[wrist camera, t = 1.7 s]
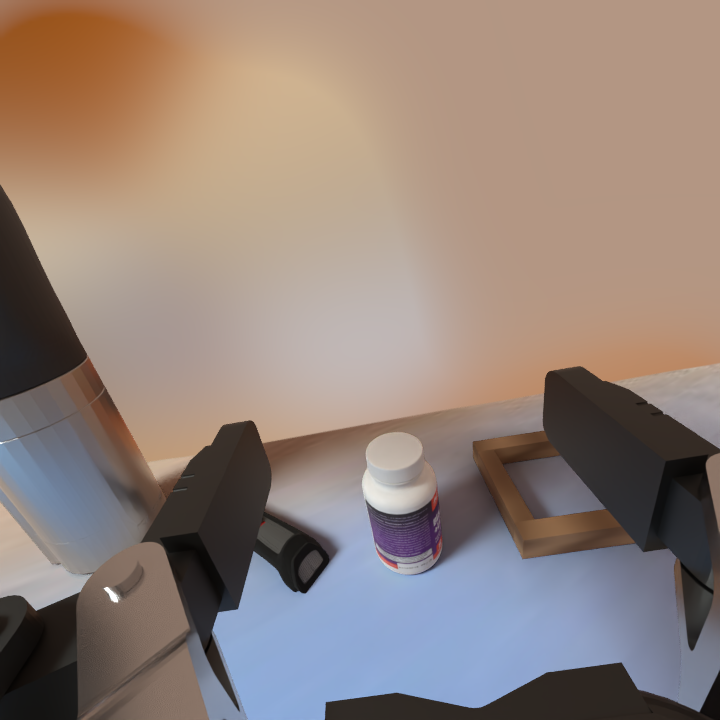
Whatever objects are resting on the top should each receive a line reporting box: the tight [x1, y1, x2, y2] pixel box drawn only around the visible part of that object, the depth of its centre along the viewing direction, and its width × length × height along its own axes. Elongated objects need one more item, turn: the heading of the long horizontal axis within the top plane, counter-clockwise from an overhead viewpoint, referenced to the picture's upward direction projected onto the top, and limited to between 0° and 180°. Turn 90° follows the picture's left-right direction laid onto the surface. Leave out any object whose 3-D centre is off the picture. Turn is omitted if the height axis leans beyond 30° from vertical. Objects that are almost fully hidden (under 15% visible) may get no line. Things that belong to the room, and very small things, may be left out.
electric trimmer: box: [254, 512, 329, 593], centre depth 31 cm, size 4×16×3 cm, turn 54°
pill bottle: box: [362, 432, 442, 575], centre depth 26 cm, size 5×5×10 cm
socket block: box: [473, 431, 635, 559], centre depth 30 cm, size 11×11×2 cm
